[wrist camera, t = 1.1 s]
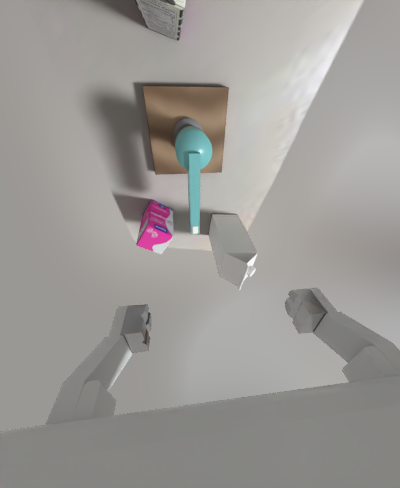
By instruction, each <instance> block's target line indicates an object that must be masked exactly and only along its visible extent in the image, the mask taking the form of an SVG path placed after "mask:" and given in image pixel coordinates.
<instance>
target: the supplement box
mask: <svg viewBox="0 0 400 488" xmlns="http://www.w3.org/2000/svg"><path fill="white" fill-rule="evenodd" d="M173 237H174V235H173V210H172V209H170V208H168V207H166V206H164V205H162V204H160V203H158V202H156V201H154V200H151V202H150V203H149V205H148V207H147V209H146V211H145V213H144V215H143V216H142V221H141V226H140V230H139V235H138V240H137V246H140V247H143V248H145V249H148V250H151V251H153V252H156V253H159V254H162V253H163V252H164V250H165V248H166V247H167V246H168V244H169V243H170V241H171V240H172V238H173Z"/></svg>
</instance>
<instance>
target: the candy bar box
mask: <svg viewBox="0 0 400 488" xmlns="http://www.w3.org/2000/svg"><path fill="white" fill-rule="evenodd" d="M135 1H136V4H137V6H138V8H139V10H140V12H141V15H142V17H143V19H144V21H145V23H146V25H147V28H149V29H151V30H154V31H156V32H159V33H161V34H164V35H166V36H169V37H171V38H173V39H176V40H179V38H180V32H181V26H182V20H183V14H184V8H185V1H186V0H135Z"/></svg>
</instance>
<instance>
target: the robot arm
mask: <svg viewBox="0 0 400 488" xmlns="http://www.w3.org/2000/svg"><path fill="white" fill-rule="evenodd" d="M288 295H289V296H290V297H289V298H287V299H286V302H285V308H286V311H287V313H288V315H289V316H290V317H292V318H293V324H294V326H295V327H296V329H297V331H298V333H311V332H314V334H315V335H316V336H317V337H319V338H320V339H321V340H322V341H323V342H324V343H326V344H327V345H328V346H329V347H330V348H331V349H333V350H334V351H335V352H336V353H337V354H339V355H340V356H341V357H342V358H343V359H344V360H345V361H347V362H348V364H347V365H346V366H345V367H344V368H343V370H342V371H343V373H344V374H345V376H346V377H347V379H348V380H349V382H348V383H341V384H334V385H327V386H321V387H313V388H306V389H298V390H291V391H284V392H277V393H270V394H263V395H256V396H248V397H241V398H235V399H227V400H220V401H213V402H206V403H199V404H191V405H184V406H178V407H171V408H163V409H156V410H148V411H141V412H134V413H127V414H120V415H114V411H115V406H116V400H115V398H114V397H113V396H112V395H111V394H110V393H109V392H108V390H109V389H110V388H111V386H112V384H113V383H114V381H115V380H116V378H117V377H118V375H119V374H120V372H121V371H122V369H123V368H124V366H125V365H126V363H127V361H128V360H129V358H130V357H131V355H132V353H137V352H143V351H148V350H149V343H150V337H149V332H150V331H151V314H150V313H149V312H148V311H149V307H148V304H145V305H133V306H119V307H118V308H117V311H116V314H115V317H114V320H113V324H112V327H111V330H110V334H109V337H105V338H104V339H103V340H102V342H101V343H100V344H99V345H98V346H97V347H96V348H95V349H94V350H93V351H92V352H91V353H90V354H89V356H88V357H87V358H86V359H85V360H84V361H83V362H82V363H81V364H80V365H79V366H78V367H77V369H76V370H75V371H74V372H73V373H72V374H71V375H70V376H69V377H68V378H67V380H65V381H64V383H63V384H62V386H61V389H60V391H59V394H58V396H57V398H56V401H55V403H54V405H53V408H52V410H51V413H50V415H49V417H48V420H47V422H46V425H41V426H34V427H27V428H20V429H14V430H6V431H0V488H400V350H399V349H398V348H397V347H396V346H395V345H394V344H393V343H392V342H390V341H389V340H387V339H385V338H383V337H382V336H380V335H379V334H377V333H375V332H373V331H372V330H370V329H368V328H367V327H365V326H363V325H362V324H360V323H358V322H357V321H355V320H353V319H352V318H349V317H348V316H346V315H345V314H343V313H341V312H337V310H336V309H335V308H334V307H333V306H332V304H331V303H330V302H329V301H328V299H327V298H326V297H325V296H324V295H323V293H322V292H321V291H320V290H319V289H318V288H310V289H298V290H292V291H290V292H289V294H288Z"/></svg>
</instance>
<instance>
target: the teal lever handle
mask: <svg viewBox="0 0 400 488" xmlns="http://www.w3.org/2000/svg"><path fill="white" fill-rule="evenodd" d="M175 150H176V157H177V160H178V162H179V163H180V165H181V166H182V167H184V168H185V169H187V170H188V197H189V224H190V230H191V234H200V170H201V169H203V168H204V167H205V166H206V165H207V164H208V163H209V162H210V160H211V157H212V145H211V142H210V140H209V139H208V137H207V136H206V135H205V133H204V132H203V131H202V130H201V129H200V128H198V127H195V126H188V127H185V128H183V129H182V130H181V131H180V132H179V133H178V135H177V137H176V140H175Z"/></svg>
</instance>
